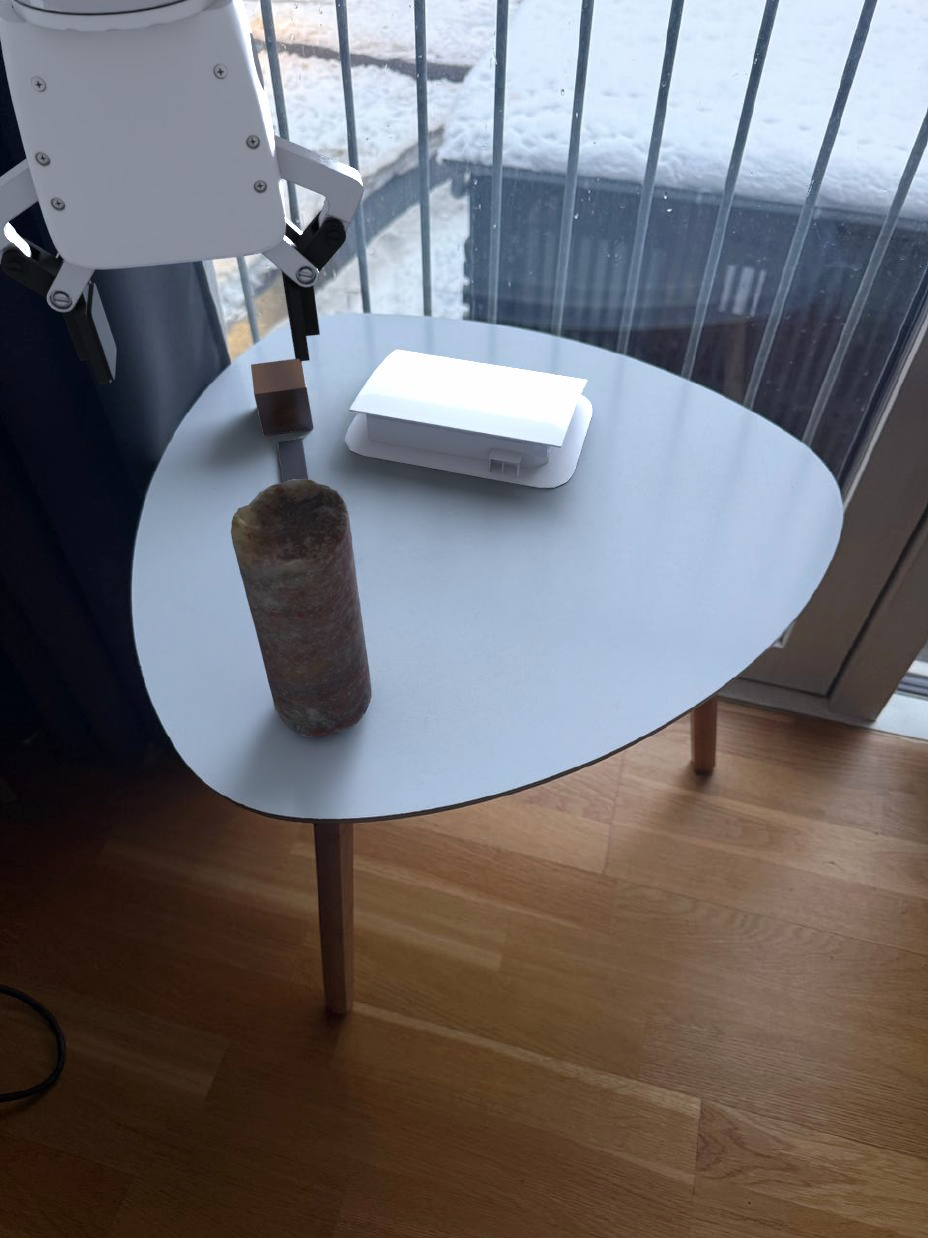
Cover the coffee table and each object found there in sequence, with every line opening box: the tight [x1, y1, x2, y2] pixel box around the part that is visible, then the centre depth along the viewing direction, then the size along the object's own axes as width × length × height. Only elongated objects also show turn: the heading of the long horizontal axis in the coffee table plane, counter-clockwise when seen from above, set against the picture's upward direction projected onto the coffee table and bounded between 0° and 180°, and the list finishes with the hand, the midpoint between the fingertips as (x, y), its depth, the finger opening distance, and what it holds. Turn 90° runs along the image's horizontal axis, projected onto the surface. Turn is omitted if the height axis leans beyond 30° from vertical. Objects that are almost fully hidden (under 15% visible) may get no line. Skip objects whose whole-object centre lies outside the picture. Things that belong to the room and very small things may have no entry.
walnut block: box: [250, 358, 314, 437], centre depth 90 cm, size 5×5×5 cm
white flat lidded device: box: [344, 349, 593, 489], centre depth 90 cm, size 15×23×4 cm, turn 74°
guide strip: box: [277, 437, 309, 483], centre depth 81 cm, size 2×27×1 cm, turn 12°
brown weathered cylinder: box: [230, 478, 372, 738], centre depth 62 cm, size 8×7×20 cm
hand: (206, 356), depth 46 cm, fingers open, 9 cm apart
